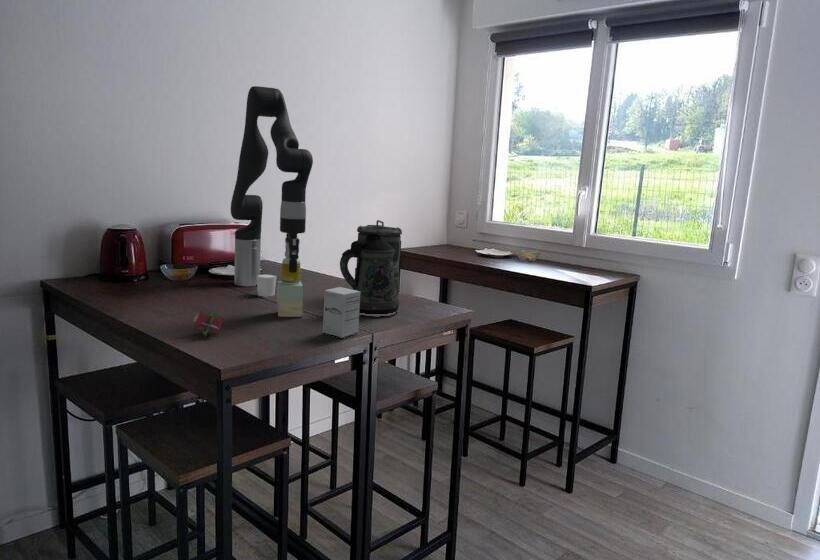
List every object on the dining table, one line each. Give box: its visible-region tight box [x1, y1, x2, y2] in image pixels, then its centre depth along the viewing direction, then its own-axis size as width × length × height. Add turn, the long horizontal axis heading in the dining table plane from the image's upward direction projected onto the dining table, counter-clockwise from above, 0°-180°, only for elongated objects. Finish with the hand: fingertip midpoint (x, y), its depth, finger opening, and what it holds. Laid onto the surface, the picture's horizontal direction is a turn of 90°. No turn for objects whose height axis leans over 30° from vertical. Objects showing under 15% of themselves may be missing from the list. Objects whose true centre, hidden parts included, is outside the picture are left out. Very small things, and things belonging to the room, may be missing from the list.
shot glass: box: [256, 273, 277, 298], centre depth 210 cm, size 7×7×7 cm
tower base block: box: [276, 296, 304, 317], centre depth 186 cm, size 7×7×5 cm
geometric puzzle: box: [193, 309, 225, 338], centre depth 160 cm, size 7×7×8 cm
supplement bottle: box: [281, 250, 301, 285], centre depth 184 cm, size 5×5×10 cm
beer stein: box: [339, 235, 400, 314], centre depth 195 cm, size 16×19×25 cm
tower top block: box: [276, 280, 304, 302], centre depth 185 cm, size 7×7×5 cm
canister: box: [354, 219, 403, 298], centre depth 214 cm, size 16×16×28 cm
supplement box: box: [322, 286, 361, 337], centre depth 168 cm, size 7×7×13 cm
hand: (291, 269), depth 184 cm, fingers open, 8 cm apart
